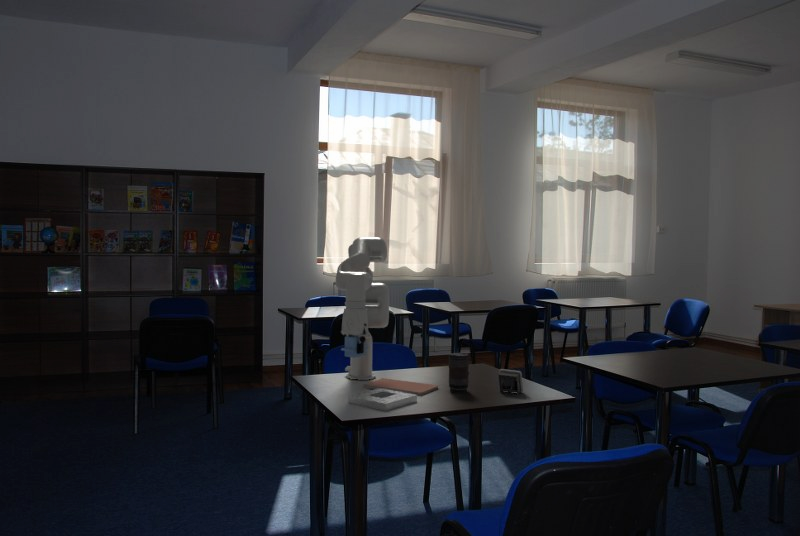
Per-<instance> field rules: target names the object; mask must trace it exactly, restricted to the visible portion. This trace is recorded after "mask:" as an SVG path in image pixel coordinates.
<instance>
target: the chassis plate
mask: <svg viewBox="0 0 800 536" xmlns="http://www.w3.org/2000/svg"><path fill="white" fill-rule="evenodd" d="M347 398H348V400H347V401H348V402H347V403H349V404H351V405H357V406H361V407H366V408H371V409H376V410H381V411H385V412H386V411H390V410H394V409H396V408H401V407H404V406H407V405H411V404H414V403H417V402H418V395H414V394H409V393H404V392H398V391H393V390H388V389H383V388H378V389H373V390H372V389H369V390H366V391H363V392H360V393H359V392H358V393H355V394H351V395H348V397H347Z"/></svg>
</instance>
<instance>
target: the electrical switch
mask: <svg viewBox="0 0 800 536" xmlns="http://www.w3.org/2000/svg"><path fill="white" fill-rule="evenodd" d="M498 385H499V392H501V391H509V392H512V391H513V392H517V393H519V394H521V393H520V392H522V393H523V392H524V384H523V373H522V371H521V370H514V369H513V370H512V369H503V368H500V369H499V370H498Z"/></svg>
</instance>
